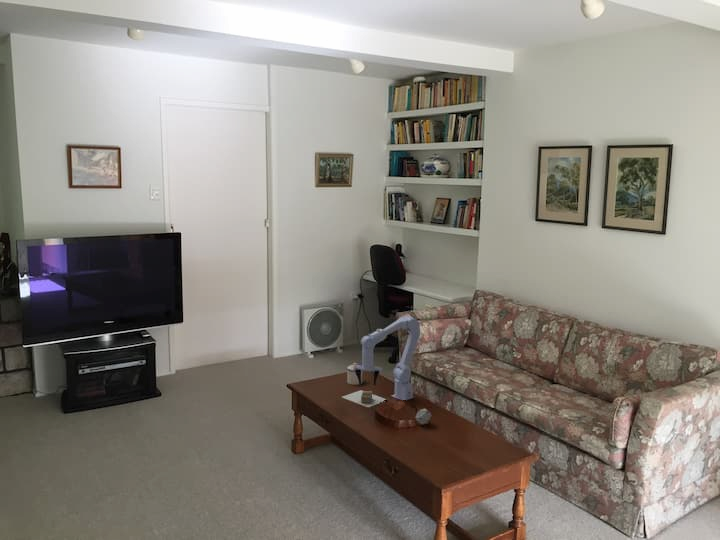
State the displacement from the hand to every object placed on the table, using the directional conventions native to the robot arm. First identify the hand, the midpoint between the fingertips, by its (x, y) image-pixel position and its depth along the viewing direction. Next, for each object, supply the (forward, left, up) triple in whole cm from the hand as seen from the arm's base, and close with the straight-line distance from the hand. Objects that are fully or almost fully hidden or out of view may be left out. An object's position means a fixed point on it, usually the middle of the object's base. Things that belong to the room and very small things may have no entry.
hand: (367, 384), depth 324 cm
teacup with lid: (+26, -16, -10) cm, 32 cm away
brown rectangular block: (-1, +1, -9) cm, 9 cm away
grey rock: (-39, +2, -10) cm, 40 cm away
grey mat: (+3, -1, -9) cm, 10 cm away
